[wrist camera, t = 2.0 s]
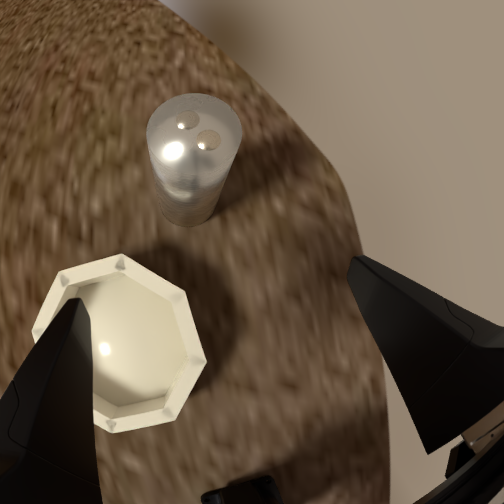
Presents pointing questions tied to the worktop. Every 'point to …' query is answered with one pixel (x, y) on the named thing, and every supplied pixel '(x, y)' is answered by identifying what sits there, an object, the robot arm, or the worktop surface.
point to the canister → (192, 154)
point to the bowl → (131, 340)
